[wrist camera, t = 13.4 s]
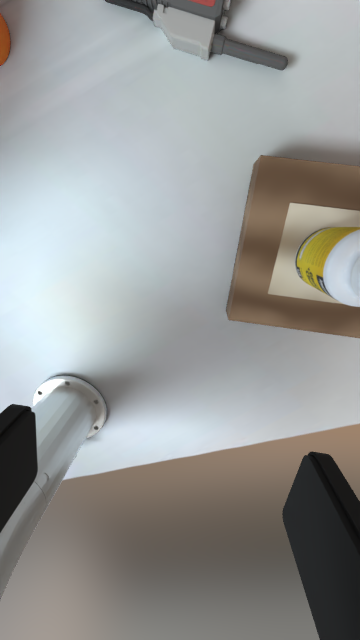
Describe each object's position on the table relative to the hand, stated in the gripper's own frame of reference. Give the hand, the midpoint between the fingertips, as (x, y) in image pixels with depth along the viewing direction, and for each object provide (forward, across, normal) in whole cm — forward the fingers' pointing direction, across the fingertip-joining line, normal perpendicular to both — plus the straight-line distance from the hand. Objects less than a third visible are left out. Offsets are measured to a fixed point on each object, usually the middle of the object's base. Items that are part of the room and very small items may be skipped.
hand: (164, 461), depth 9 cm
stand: (+28, -14, -8) cm, 32 cm away
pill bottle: (+24, -14, -7) cm, 29 cm away
